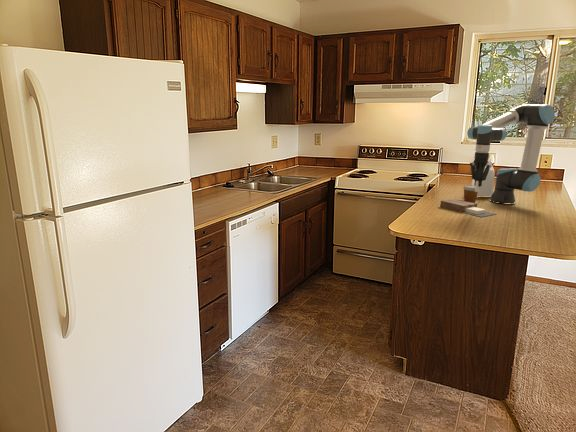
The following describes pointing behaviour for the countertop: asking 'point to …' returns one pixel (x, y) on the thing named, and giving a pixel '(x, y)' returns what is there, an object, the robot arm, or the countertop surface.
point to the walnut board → (457, 205)
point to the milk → (487, 183)
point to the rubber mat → (481, 214)
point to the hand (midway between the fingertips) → (477, 191)
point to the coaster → (475, 210)
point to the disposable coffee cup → (470, 193)
